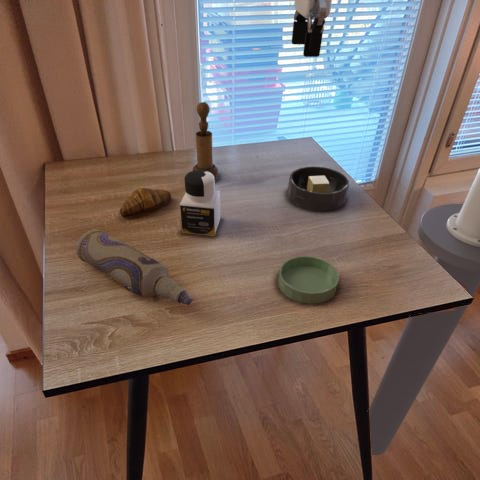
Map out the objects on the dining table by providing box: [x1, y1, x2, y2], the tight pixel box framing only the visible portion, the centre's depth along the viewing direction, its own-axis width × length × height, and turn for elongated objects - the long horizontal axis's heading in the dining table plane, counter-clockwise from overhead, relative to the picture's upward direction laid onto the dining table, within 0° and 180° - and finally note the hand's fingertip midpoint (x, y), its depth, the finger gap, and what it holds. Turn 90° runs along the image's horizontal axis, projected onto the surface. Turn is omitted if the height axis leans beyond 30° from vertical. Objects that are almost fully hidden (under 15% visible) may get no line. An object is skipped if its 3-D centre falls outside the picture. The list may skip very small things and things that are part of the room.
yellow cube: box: [307, 175, 330, 193], centre depth 100 cm, size 4×4×4 cm
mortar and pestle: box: [192, 101, 219, 182], centre depth 102 cm, size 7×6×18 cm
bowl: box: [287, 165, 350, 213], centre depth 101 cm, size 14×14×4 cm
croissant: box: [119, 187, 172, 218], centre depth 95 cm, size 14×7×5 cm, turn 134°
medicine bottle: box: [179, 170, 221, 237], centre depth 87 cm, size 7×7×12 cm
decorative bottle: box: [75, 228, 194, 306], centre depth 75 cm, size 26×8×7 cm, turn 52°
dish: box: [277, 255, 340, 305], centre depth 78 cm, size 11×11×2 cm
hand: (304, 49), depth 86 cm, fingers open, 9 cm apart
